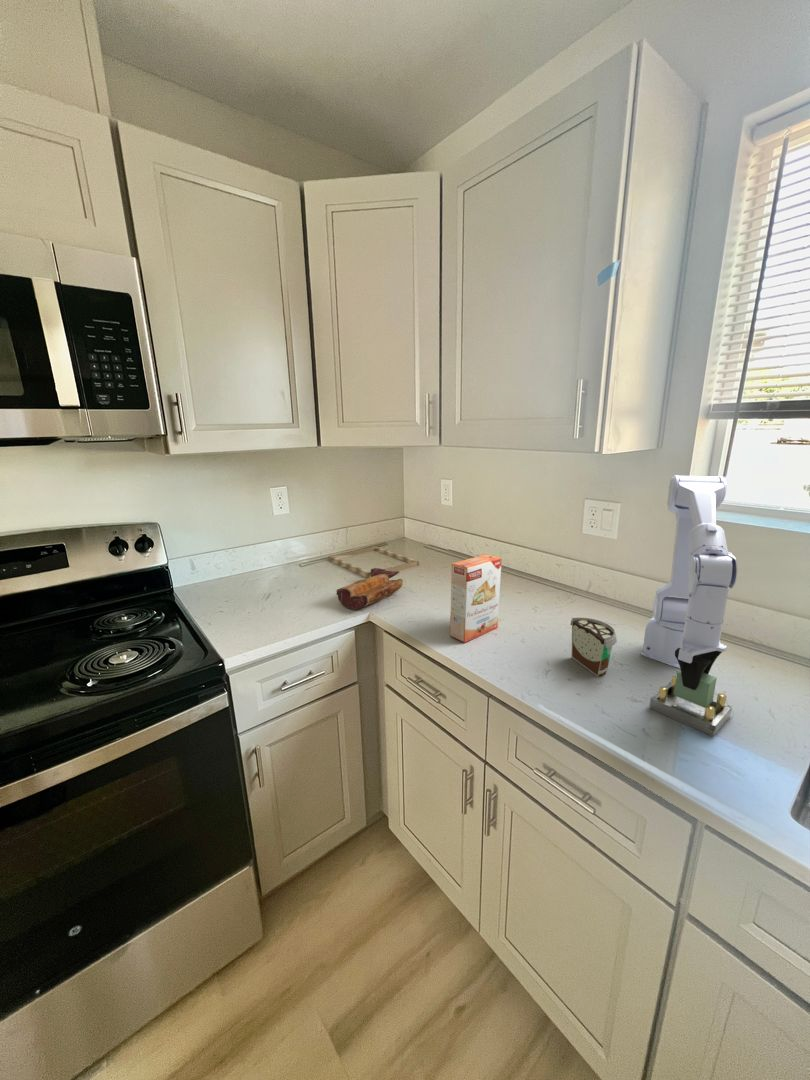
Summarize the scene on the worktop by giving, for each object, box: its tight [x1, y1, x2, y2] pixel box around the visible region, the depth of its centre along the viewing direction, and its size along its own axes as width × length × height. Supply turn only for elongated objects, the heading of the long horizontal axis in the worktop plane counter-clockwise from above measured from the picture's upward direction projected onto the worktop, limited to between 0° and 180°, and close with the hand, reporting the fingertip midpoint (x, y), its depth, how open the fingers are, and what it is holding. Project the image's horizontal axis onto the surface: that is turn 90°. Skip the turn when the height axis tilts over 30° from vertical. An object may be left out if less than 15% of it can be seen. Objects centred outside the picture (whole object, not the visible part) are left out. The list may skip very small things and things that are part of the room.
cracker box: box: [449, 553, 503, 644], centre depth 119 cm, size 14×6×21 cm, turn 130°
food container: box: [569, 617, 617, 678], centre depth 103 cm, size 12×6×10 cm, turn 17°
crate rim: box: [328, 546, 420, 579], centre depth 183 cm, size 31×24×3 cm
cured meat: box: [336, 567, 404, 611], centre depth 148 cm, size 18×25×7 cm
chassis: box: [649, 675, 733, 737], centre depth 86 cm, size 11×9×4 cm
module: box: [674, 669, 718, 708], centre depth 85 cm, size 6×4×6 cm, turn 38°
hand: (693, 683), depth 85 cm, fingers closed on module, 4 cm apart
